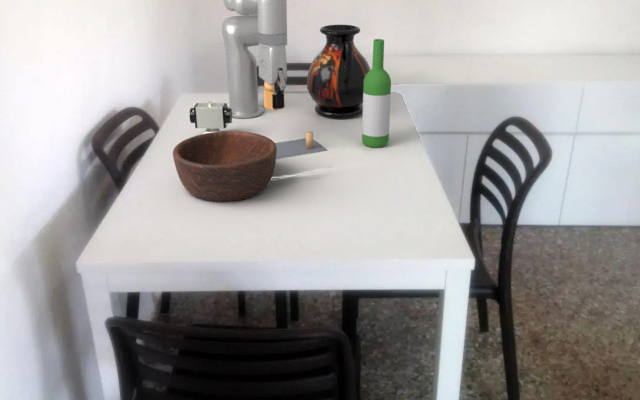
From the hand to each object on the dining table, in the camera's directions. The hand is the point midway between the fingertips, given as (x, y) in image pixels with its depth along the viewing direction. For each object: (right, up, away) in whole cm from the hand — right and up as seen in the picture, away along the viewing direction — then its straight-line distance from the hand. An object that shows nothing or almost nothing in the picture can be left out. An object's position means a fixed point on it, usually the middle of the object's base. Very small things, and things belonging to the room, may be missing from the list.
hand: (274, 104), depth 177 cm
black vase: (+19, +3, +38) cm, 42 cm away
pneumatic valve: (-19, -9, +13) cm, 25 cm away
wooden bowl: (-10, -23, -17) cm, 31 cm away
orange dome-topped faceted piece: (0, -1, 0) cm, 1 cm away
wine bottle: (+29, -10, +10) cm, 32 cm away
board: (+4, -13, +4) cm, 14 cm away
